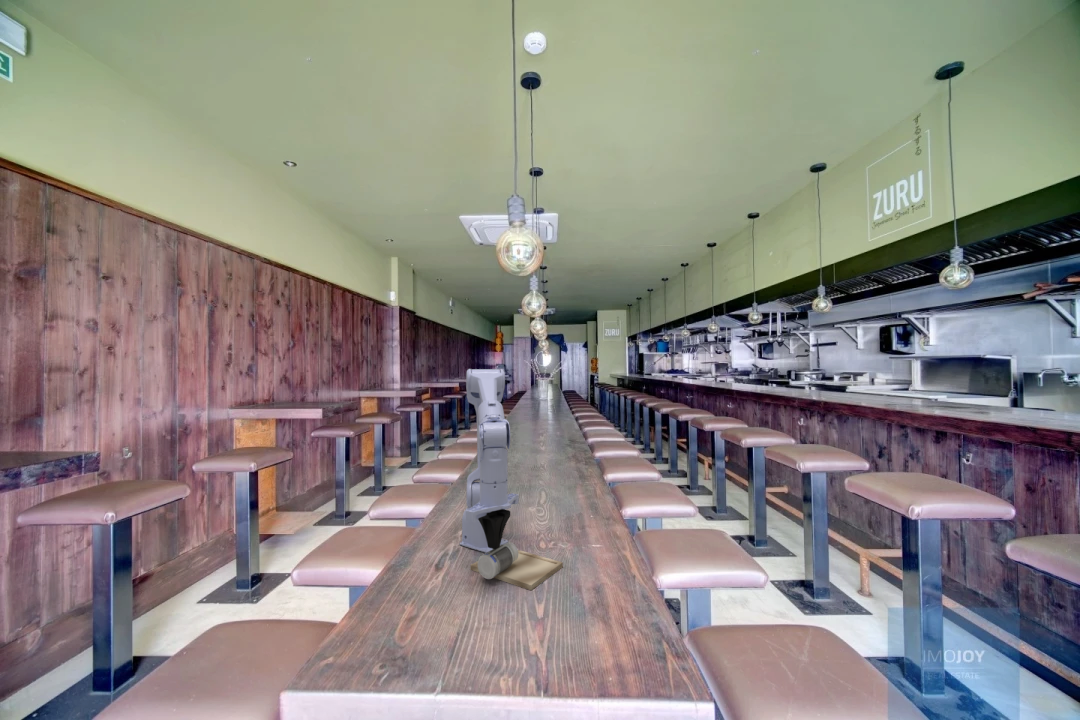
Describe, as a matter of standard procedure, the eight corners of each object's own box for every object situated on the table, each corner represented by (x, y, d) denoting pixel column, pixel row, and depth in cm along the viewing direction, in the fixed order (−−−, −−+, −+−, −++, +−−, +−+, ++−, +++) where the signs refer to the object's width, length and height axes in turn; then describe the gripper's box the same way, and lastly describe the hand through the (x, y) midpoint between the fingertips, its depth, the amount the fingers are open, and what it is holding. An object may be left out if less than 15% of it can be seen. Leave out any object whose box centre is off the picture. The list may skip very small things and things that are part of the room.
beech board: (470, 569, 88) (470, 564, 88) (505, 550, 98) (505, 545, 98) (531, 590, 79) (531, 584, 79) (562, 567, 89) (562, 561, 89)
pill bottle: (492, 584, 81) (518, 566, 88) (495, 561, 81) (521, 546, 88) (475, 573, 84) (501, 556, 91) (478, 551, 83) (504, 536, 90)
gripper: (485, 491, 77) (484, 565, 76) (529, 475, 89) (530, 539, 88) (458, 485, 81) (457, 556, 80) (504, 472, 93) (504, 533, 92)
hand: (493, 547), depth 84 cm, fingers closed
